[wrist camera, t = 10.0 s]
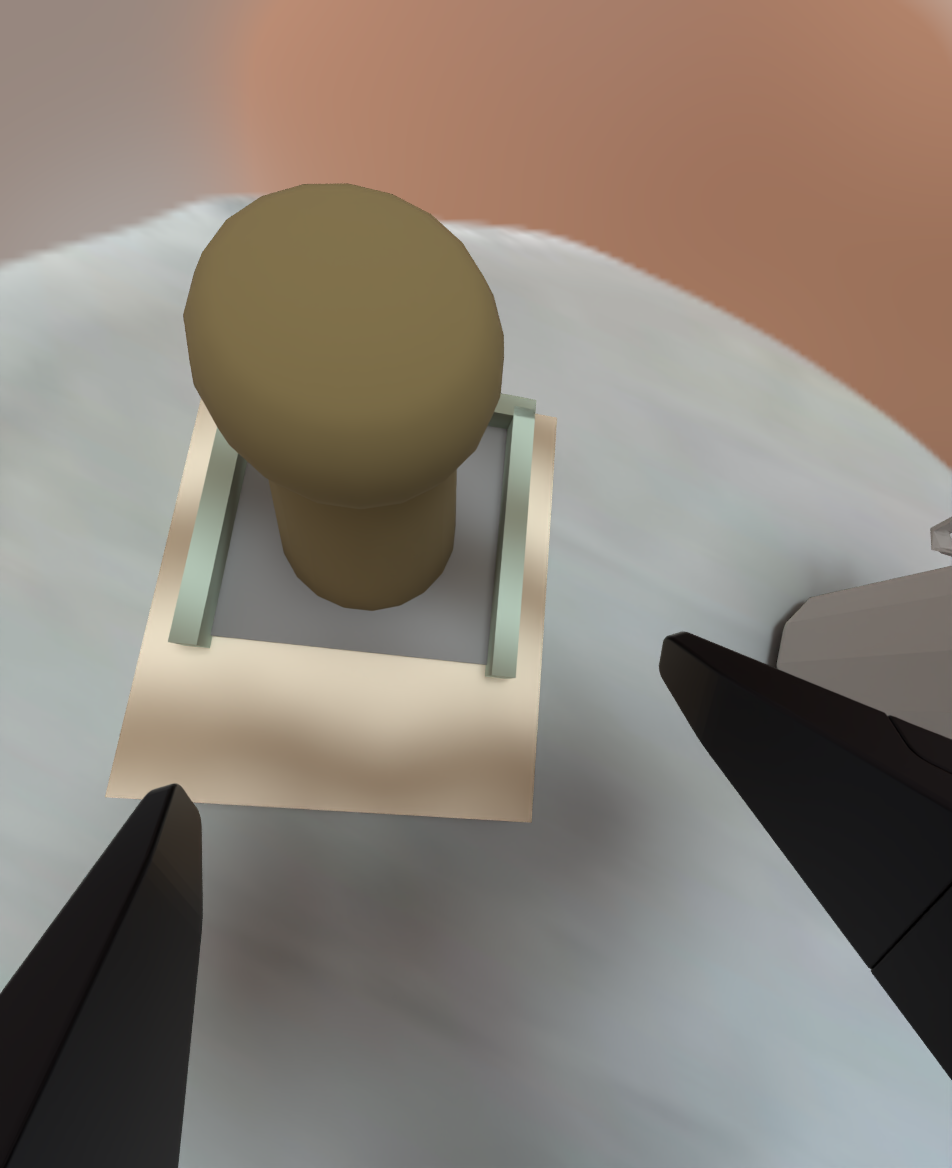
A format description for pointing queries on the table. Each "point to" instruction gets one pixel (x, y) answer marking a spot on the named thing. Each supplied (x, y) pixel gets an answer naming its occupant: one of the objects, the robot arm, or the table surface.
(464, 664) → the dock
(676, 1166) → the table surface
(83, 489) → the table surface
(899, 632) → the water bottle
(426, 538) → the cork
